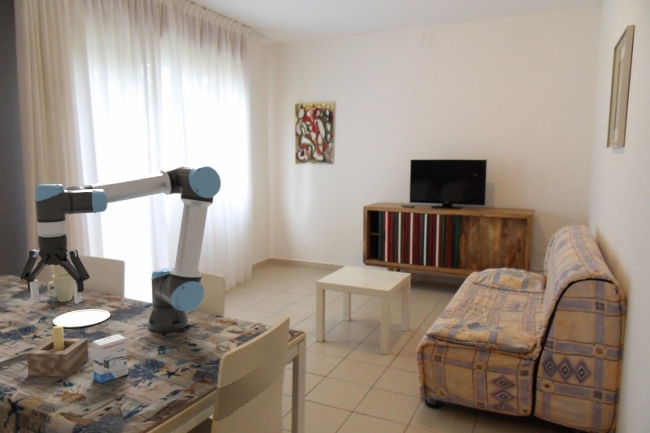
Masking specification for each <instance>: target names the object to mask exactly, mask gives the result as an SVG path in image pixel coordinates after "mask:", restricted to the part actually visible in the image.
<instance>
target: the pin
mask: <svg viewBox="0 0 650 433" xmlns="http://www.w3.org/2000/svg"><path fill="white" fill-rule="evenodd" d="M52 333H53V334H52V336H53V337H52V338H53V342H54V351H64V338H65V337H64V327H63V326H61V325H59V326H56V325H54V326H53V327H52Z"/></svg>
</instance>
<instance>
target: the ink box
mask: <svg viewBox="0 0 650 433" xmlns="http://www.w3.org/2000/svg"><path fill="white" fill-rule="evenodd" d="M91 346H92V364H93V365H92V366H93V367H92V368H93V379H94V380H95V381H96V382H98V383H100V384H103V383H106V382H108V381H112V380H114V379H118V378H121V377H123V376H125V375H129V361H128V360H129V359H128V338H127V337H125V336H123V335H122V334H119V333H117V334H114V335H109V336H106V337H104V338H99V339H96V340H93V341H92V342H91Z"/></svg>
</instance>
